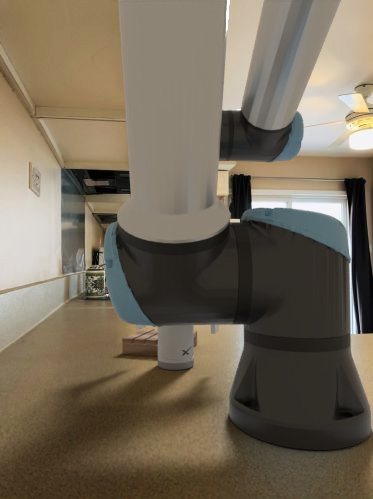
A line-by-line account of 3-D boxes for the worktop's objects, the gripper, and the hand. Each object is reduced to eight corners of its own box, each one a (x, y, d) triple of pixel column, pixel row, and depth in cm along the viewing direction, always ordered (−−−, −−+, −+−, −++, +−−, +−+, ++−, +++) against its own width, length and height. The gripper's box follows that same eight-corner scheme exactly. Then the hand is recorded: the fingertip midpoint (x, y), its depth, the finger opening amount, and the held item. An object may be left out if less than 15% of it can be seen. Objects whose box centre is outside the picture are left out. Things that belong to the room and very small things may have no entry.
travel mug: (196, 370, 60) (195, 249, 61) (156, 370, 60) (156, 249, 61) (195, 360, 67) (194, 251, 67) (158, 360, 66) (158, 251, 67)
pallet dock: (180, 358, 68) (180, 341, 69) (122, 353, 72) (122, 338, 72) (197, 344, 80) (197, 330, 80) (146, 341, 83) (146, 328, 84)
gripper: (250, 208, 65) (251, 329, 64) (122, 214, 72) (122, 323, 71) (243, 202, 57) (245, 338, 57) (102, 209, 65) (102, 330, 64)
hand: (176, 330), depth 64 cm, fingers open, 13 cm apart
